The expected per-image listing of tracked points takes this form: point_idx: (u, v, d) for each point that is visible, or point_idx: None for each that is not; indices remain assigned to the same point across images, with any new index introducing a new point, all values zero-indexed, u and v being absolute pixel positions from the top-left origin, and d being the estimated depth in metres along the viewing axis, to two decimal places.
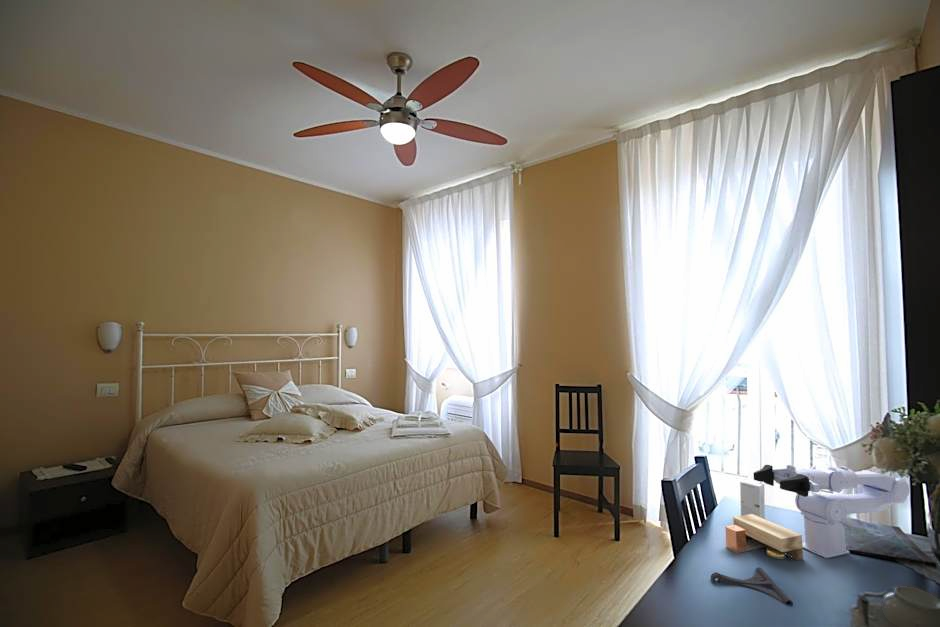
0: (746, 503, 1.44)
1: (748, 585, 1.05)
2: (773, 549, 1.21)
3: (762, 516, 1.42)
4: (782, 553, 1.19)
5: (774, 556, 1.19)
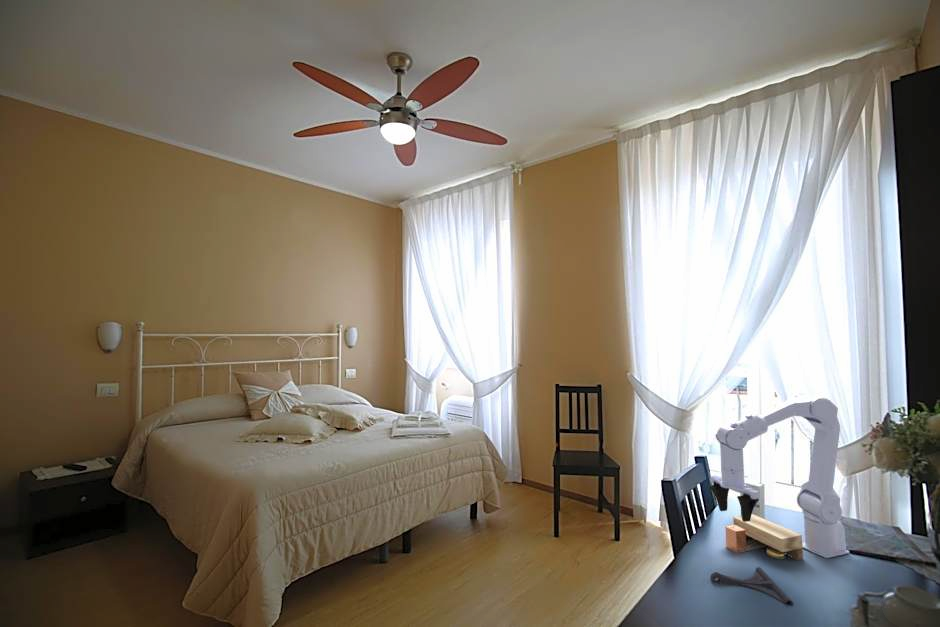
0: None
1: (748, 585, 1.05)
2: (773, 549, 1.21)
3: (762, 516, 1.42)
4: (782, 552, 1.19)
5: (775, 556, 1.19)
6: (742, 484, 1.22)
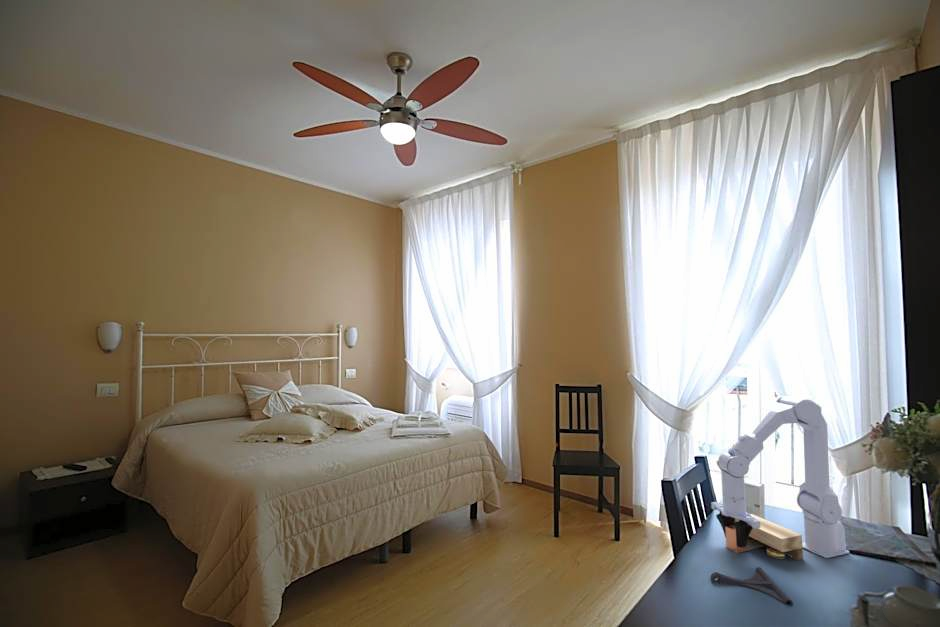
0: (746, 503, 1.44)
1: (748, 585, 1.05)
2: (773, 549, 1.21)
3: (762, 516, 1.42)
4: (783, 552, 1.19)
5: (776, 556, 1.18)
6: (743, 512, 1.22)
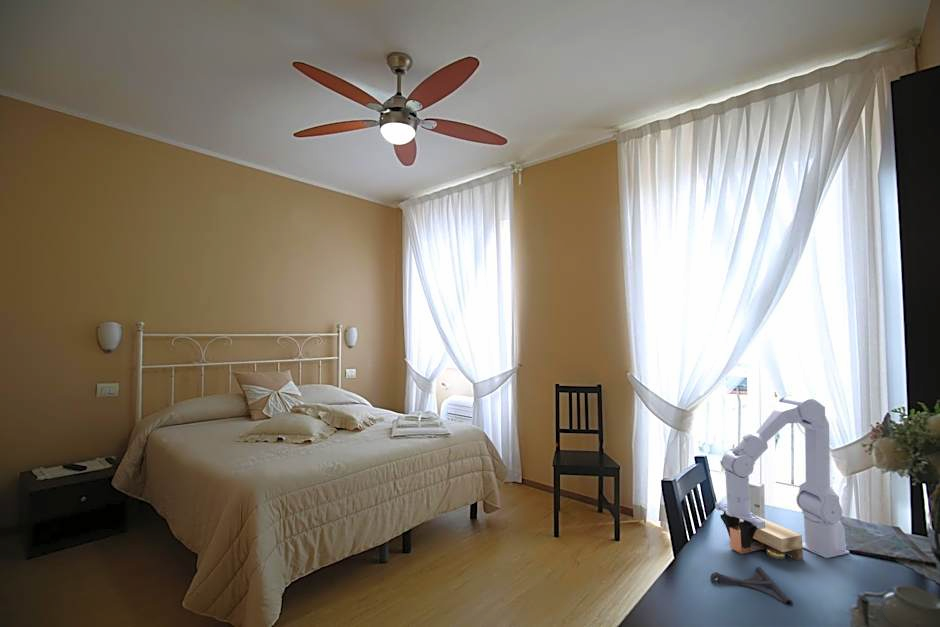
0: None
1: (748, 585, 1.05)
2: (773, 549, 1.21)
3: (762, 516, 1.42)
4: (784, 552, 1.19)
5: (779, 557, 1.18)
6: (748, 512, 1.20)
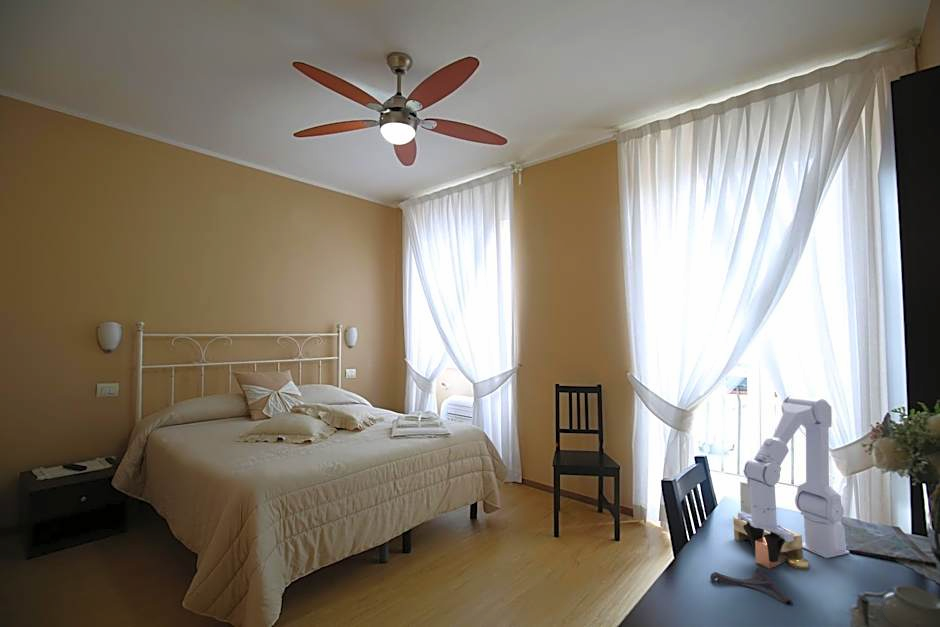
0: (746, 503, 1.44)
1: (748, 585, 1.05)
2: (795, 558, 1.15)
3: None
4: (806, 561, 1.14)
5: (803, 567, 1.13)
6: (774, 524, 1.13)
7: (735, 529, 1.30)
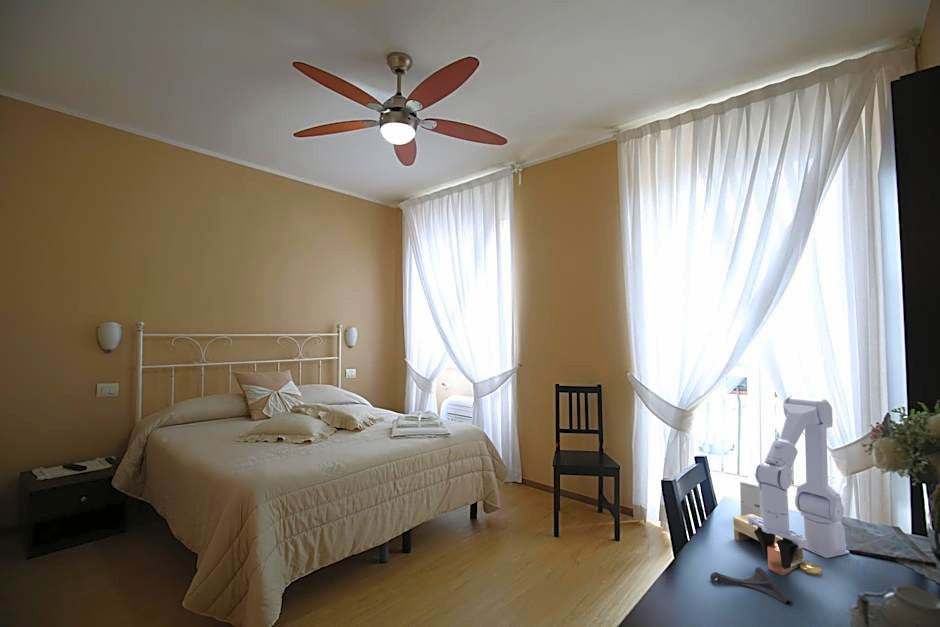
0: (746, 503, 1.44)
1: (748, 585, 1.05)
2: (807, 565, 1.12)
3: (762, 516, 1.42)
4: (819, 567, 1.11)
5: (816, 573, 1.10)
6: (787, 529, 1.10)
7: (735, 529, 1.30)
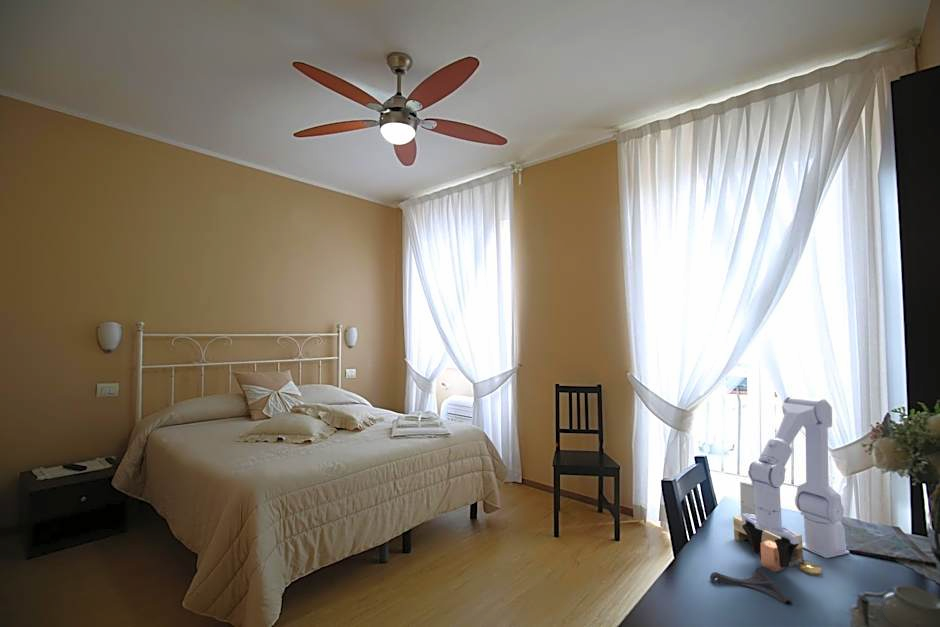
0: (746, 503, 1.44)
1: (747, 585, 1.05)
2: (807, 565, 1.12)
3: None
4: (819, 567, 1.11)
5: (816, 573, 1.10)
6: (779, 526, 1.12)
7: (735, 529, 1.30)
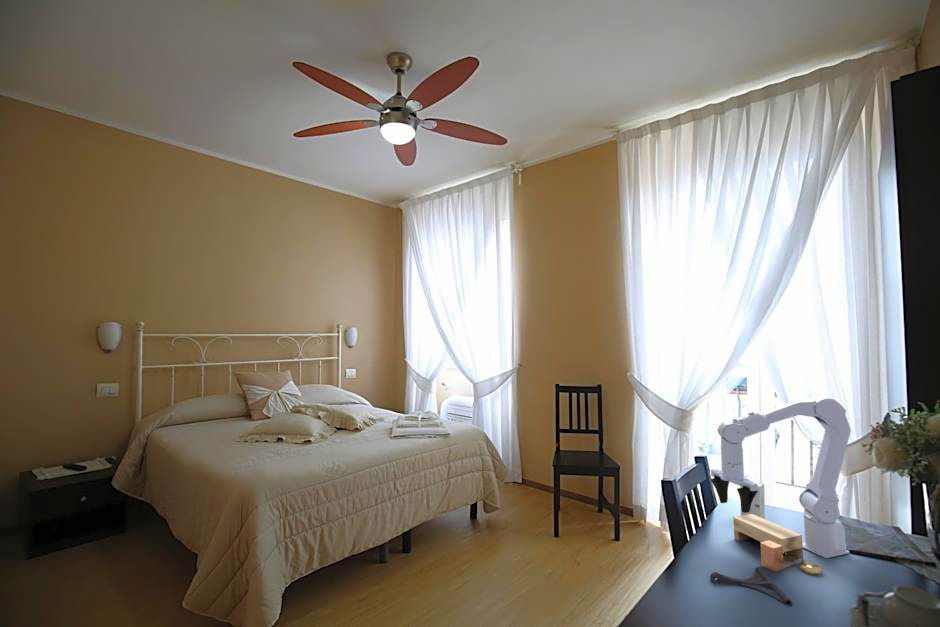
0: None
1: (747, 585, 1.05)
2: (807, 565, 1.12)
3: (762, 516, 1.42)
4: (819, 567, 1.11)
5: (816, 573, 1.10)
6: (742, 477, 1.27)
7: (735, 529, 1.30)
